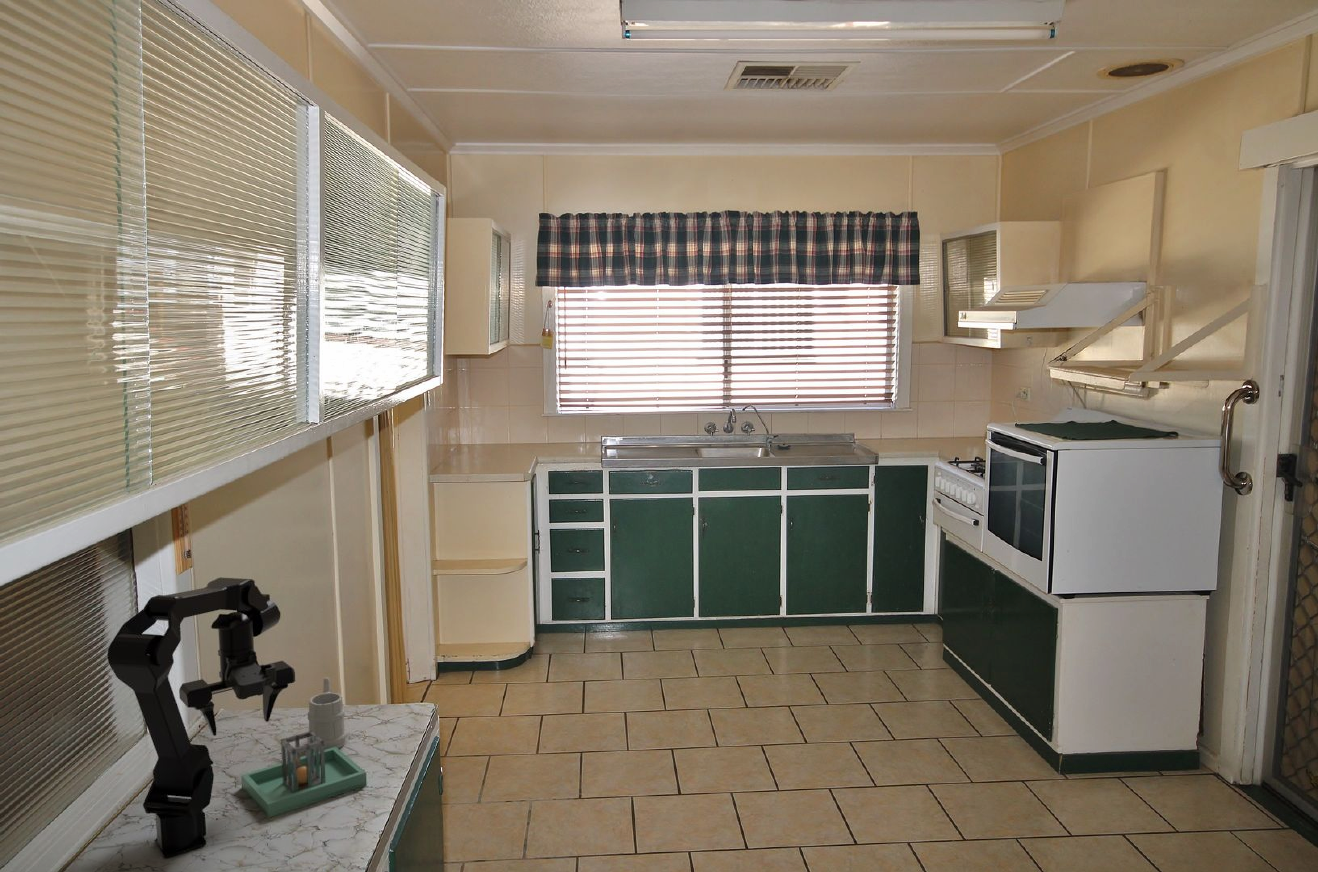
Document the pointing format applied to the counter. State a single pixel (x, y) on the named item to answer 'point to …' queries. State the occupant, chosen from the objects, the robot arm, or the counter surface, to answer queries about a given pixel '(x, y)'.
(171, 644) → the robot arm
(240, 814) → the counter surface
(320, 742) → the cage
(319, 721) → the mug
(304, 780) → the ball
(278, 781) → the tray
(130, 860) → the counter surface
